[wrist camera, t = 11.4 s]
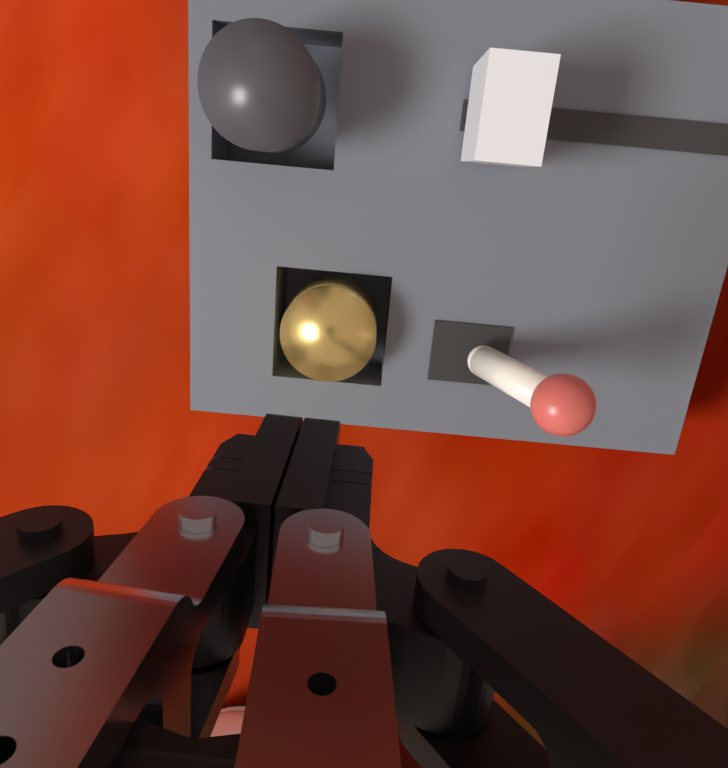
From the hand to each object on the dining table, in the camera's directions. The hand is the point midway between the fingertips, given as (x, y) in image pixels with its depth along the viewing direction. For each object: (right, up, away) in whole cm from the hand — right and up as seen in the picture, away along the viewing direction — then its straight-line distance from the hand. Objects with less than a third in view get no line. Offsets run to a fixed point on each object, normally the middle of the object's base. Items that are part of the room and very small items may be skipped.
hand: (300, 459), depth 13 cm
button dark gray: (-2, +12, +9) cm, 15 cm away
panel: (+5, +8, +14) cm, 17 cm away
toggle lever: (+5, +3, +12) cm, 13 cm away
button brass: (0, +4, +13) cm, 14 cm away
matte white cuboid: (+6, +11, +9) cm, 15 cm away
